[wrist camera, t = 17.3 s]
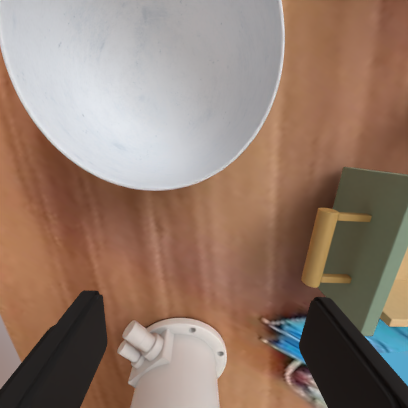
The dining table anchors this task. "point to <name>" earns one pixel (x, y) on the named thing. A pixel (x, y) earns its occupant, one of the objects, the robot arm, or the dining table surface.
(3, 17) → the chinaware
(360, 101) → the dining table surface
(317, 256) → the drawer
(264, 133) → the dining table surface
